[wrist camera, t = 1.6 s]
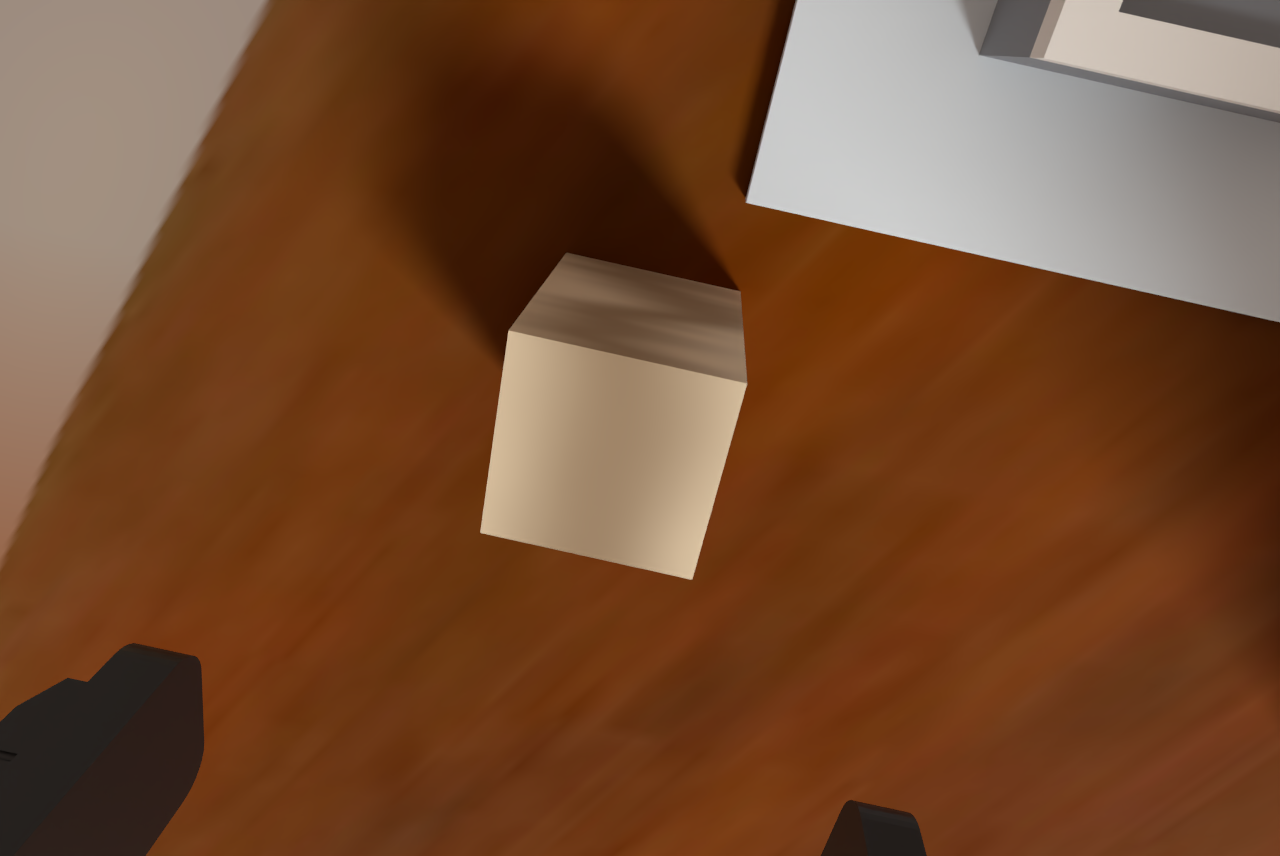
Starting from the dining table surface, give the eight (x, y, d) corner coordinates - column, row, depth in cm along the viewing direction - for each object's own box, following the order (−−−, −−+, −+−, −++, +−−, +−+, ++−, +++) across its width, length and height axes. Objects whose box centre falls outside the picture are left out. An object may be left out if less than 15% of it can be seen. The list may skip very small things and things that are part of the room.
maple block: (740, 291, 23) (746, 383, 17) (699, 446, 25) (692, 579, 19) (566, 252, 23) (508, 330, 17) (540, 410, 25) (480, 532, 19)
